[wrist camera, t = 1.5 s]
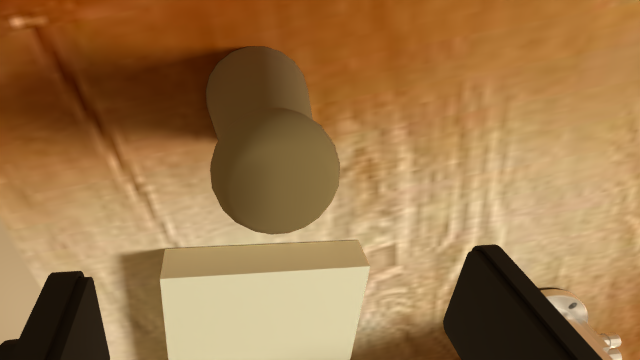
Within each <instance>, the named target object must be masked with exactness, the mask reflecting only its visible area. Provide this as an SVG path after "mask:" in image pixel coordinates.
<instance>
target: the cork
mask: <svg viewBox="0 0 640 360" xmlns="http://www.w3.org/2000/svg"><path fill="white" fill-rule="evenodd" d="M206 100H207V108H208V111H209V114H210V117H211V120H212V123H213V126H214V129H215V132H216V135H217V139H218V143H217V144H216V146H215V150H214V153H213V157H212V161H211V167H210V172H211V182H212V189H213V191H214V193H215V195H216V197H217V199H218V201H219V203H220V205H221V207H222V209H223V211H224V212H225V213H227V214H228V215H229V216H230V217H231V218H232V219H233V220H234V221H235V222H236V223H238V224H240V225H243V226H245V227H247V228H249V229H251V230H253V231H255V232H261V233H267V234H282V233H290V232H293V231H295V230H298V229H301V228H304V227H306V226H307V225H309V224H310V223H312V222H313V221H315V220H316V219H318V218H319V217H320V215H321V214H322V213H323V212H324V211H325V210H326V208H327V207H328V206H329V205H330V203H331V202H332V200H333V198H334V195H335V193H336V191H337V188H338V186H339V173H340V162H339V159H338V155H337V152H336V148H335V145H334V144H333V142H332V140H331V139H330V137H329V136H328V135H327V133H326V132H325V131H324V129H323V128H322V127H321V125H319V124H318V123H316V122H315V121H313V119H312V113H311V107H310V101H309V95H308V89H307V86H306V82H305V79H304V75H303V74H302V72H301V71H300V69H299V68H298V66H297V65H296V64H295V62H294V61H293V60H291V59H290V58H289V57H287V56H286V55H285V54H283V53H282V52H280V51H277V50H274V49H271V48H268V47H245V48H242V49H239V50H236V51H233V52H231V53H230V54H229V55H227V56H226V57H225V58H223V59H222V60H221V61H219V62H218V64H217V65H216V67H215V68H214V70H213V71H212V73H211V74H210V76H209V80H208V84H207V88H206Z"/></svg>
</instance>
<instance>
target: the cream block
mask: <svg viewBox="0 0 640 360" xmlns="http://www.w3.org/2000/svg"><path fill="white" fill-rule="evenodd" d="M369 269H370V265H369V263H368V261H367V258H366V256H365V254H364V252H363V250H362V247H361V245H360V243H359V241H358V240H349V241H327V242H305V243H283V244H261V245H238V246H216V247H194V248H172V249H165V252H164V258H163V263H162V269H161V275H160V286H161V295H162V305H163V314H164V324H165V333H166V343H167V352H168V360H350V358H351V353H352V349H353V344H354V339H355V335H356V330H357V325H358V321H359V316H360V311H361V307H362V302H363V297H364V293H365V288H366V283H367V279H368V274H369Z"/></svg>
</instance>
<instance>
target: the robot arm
mask: <svg viewBox="0 0 640 360" xmlns="http://www.w3.org/2000/svg"><path fill="white" fill-rule="evenodd" d="M587 321H588V311H587V309H586V307H585V305H584V304H583V303H582V302H581V301H580V300H579V299H578V298H577V297H576V296H575V295H573V294H572V293H570V292H567V291H564V290H557V289H549V290H539V289H538V288H537V287H536V286H535V285H534V283H533V282H532V281H531V280H530V279H529V278H528V277H527V276H526V275H525V274H524V272H523V271H522V270H521V269H520V268H519V267H518V266H517V265H516V264H515V263H514V261H513V260H512V259H511V258H510V257H509V256H508V255H507V254H506V253H505V252H504V250H503V249H502V248H501V247H499V246H498V245H480V246H475V247H474V248H473V249H472V251H471V252H469V253H468V254H467V257H466V259H465V262H464V265H463V267H462V270H461V273H460V276H459V278H458V281H457V284H456V287H455V289H454V292H453V295H452V297H451V300H450V303H449V306H448V308H447V311H446V314H445V316H444V320H443V325H444V330H445V332H446V334H447V336H448V337H449V339H450V341H451V343H452V344H453V346H454V348H455V349H456V351H457V353H458V355H459V356H460V358H461V360H622V356H621V353H620V352H619V350H618V349H617V348H616V347H619V346H620V345H621V339H620V337H619V336H618V335H617V334H616V333H604V334H601V335H598V334H597V333H596V332H595V331H594V330H593V329H592V328H591V327H590V326H589V325H588V323H587ZM0 360H110V355H109V350H108V346H107V341H106V336H105V332H104V327H103V322H102V318H101V313H100V308H99V304H98V299H97V294H96V290H95V285H94V281H93V278H92V277H84V274H83V272H82V271H71V272H56V273H51V274H50V275H49V276H48V278H47V280H46V282H45V284H44V287H43V289H42V291H41V293H40V295H39V297H38V299H37V302H36V304H35V306H34V308H33V310H32V312H31V314H30V316H29V319H28V321H27V323H26V325H25V327H24V329H23V332H22V334H21V336H20V338H19V339H14V340H7V341H4V342H3V343H2V344H1V345H0Z"/></svg>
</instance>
